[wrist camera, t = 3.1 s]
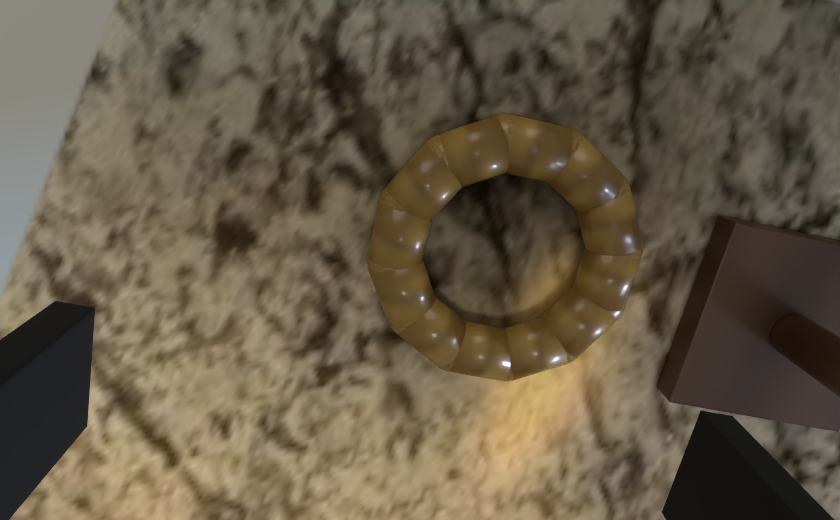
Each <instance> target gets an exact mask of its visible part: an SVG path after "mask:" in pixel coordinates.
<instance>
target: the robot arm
mask: <svg viewBox="0 0 840 520" xmlns="http://www.w3.org/2000/svg"><path fill="white" fill-rule="evenodd" d="M94 315H95V308H93V307H87V306H81V305H75V304H69V303H63V302H58V301H55V302H53V303H52V304H51V305H49V306H48V307H46V308H45V309H44V310H42V311H41V312H39V313H38V314H36V315H35V316H34V317H32V318H31V319H29V320H28V321H27V322H25V323H24V324H22V325H21V326H19V327H18V328H17V329H15V330H14V331H12V332H11V333H10V334H8V335H7V336H5V337H4V338H2V339H1V340H0V520H9V519H10V518H11V516H12V515H13V514H14V513H15V512H16V510H17V509H18V508H19V507H20V506H21V505H22V503H23V502H24V501H25V500H26V499H27V497H28V496H29V495H30V494H31V493H32V491H33V490H34V489H35V488H36V487H37V485H38V484H39V483H40V482H41V481H42V479H43V478H44V477H45V476H46V475H47V473H48V472H49V471H50V470H51V469H52V467H53V466H54V465H55V464H56V463H57V461H58V460H59V459H60V458H61V457H62V455H63V454H64V453H65V452H66V451H67V449H68V448H69V447H70V446H71V445H72V444H73V442H74V441H75V440H76V439H77V438H78V436H79V435H80V434H81V433H82V432H83V430H84V429H85V428H86V427H87V420H88V405H89V390H90V375H91V360H92V345H93V330H94ZM662 513H663V515H664V517H665V518H666V520H834V519H833V518H832V517H831V516H830V515H829V514H828V513H827V512H826V511H825V510H824V509H823V508H822V507H821V506H820V505H819V504H818V503H817V502H816V501H815V500H814V499H813V498H812V497H811V496H810V495H809V494H808V493H807V492H806V491H805V490H804V488H803V487H802V486H801V485H800V484H799V483H798V482H797V481H796V480H795V479H794V478H793V477H792V476H791V475H790V474H789V473H788V472H787V471H786V470H785V469H784V468H783V467H782V466H781V465H780V464H779V463H778V462H777V461H776V460H775V459H774V458H773V457H772V456H771V455H770V454H769V453H768V452H767V451H766V450H765V449H764V448H763V447H762V446H761V445H760V444H759V443H758V442H757V441H756V440H755V439H754V438H753V437H752V436H751V435H750V434H749V433H748V432H747V431H746V430H745V429H744V428H743V426H742V425H741V424H740V423H739V422H738V421H737V420H736V419H735V418H734V417H733V416H729V415H723V414H717V413H711V412H705V411H700V414H699V417H698V419H697V422H696V424H695V427H694V430H693V432H692V435H691V437H690V440H689V443H688V445H687V448H686V450H685V453H684V456H683V458H682V461H681V464H680V466H679V469H678V471H677V474H676V477H675V479H674V482H673V484H672V487H671V490H670V492H669V495H668V497H667V500H666V503H665V505H664V508H663V510H662Z"/></svg>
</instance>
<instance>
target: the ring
mask: <svg viewBox="0 0 840 520" xmlns="http://www.w3.org/2000/svg"><path fill="white" fill-rule="evenodd" d="M504 173H506V174H511V175H516V176H520V177H525V178H530V179H535V180H539V181H544V182H547V183H548V184H549V185H550V186H551V187H552V188H554V189H555V190H556V191H557V192H558V193H559V194H560V195H561V196H562V197H563V198H564V199H565V200H566V201H567V202H568V203H569V204H570V205H571V206H572V207H573V208H575V209H576V213H577V217H578V221H579V225H580V229H581V233H582V237H583V241H584V245H585V250H584V253H583V256H582V260H581V263H580V266H579V269H578V273H577V276H576V279H575V283H574V286H573V287H572V288H571V289H570V290H569V291H568V292H567V293H566V294H565V295H564V296H563V297H562V298H561V299H560V300H559V301H558V302H557V303H556V304H555V305H554V306H553V307H552V308H551V309H550V310H549V311H548V312H547V313H546V314H545V315H544V316H541V317H538V318H535V319H532V320H528V321H525V322H522V323H519V324H516V325H513V326H509V327H506V328H500V327H495V326H489V325H484V324H478V323H473V322H467V321H464V320H463V319H462V318H460V317H459V316H458V315H457V314H456V313H454V312H453V311H452V310H451V309H450V308H449V307H447V306H446V305H445V304H444V303H443V302H441V301H440V300H439V299H438V298H437V297H435V294H434V291H433V288H432V285H431V282H430V279H429V276H428V273H427V270H426V267H425V264H424V261H423V258H424V253H425V249H426V245H427V240H428V236H429V231H430V227H431V222H432V219H433V218H434V217H435V216H436V215H437V214H438V213H439V212H440V211H441V210H442V208H443V207H444V206H445V205H446V204H447V203H448V202H449V201H450V200H451V199H452V198H453V197H454V195H455V194H456V193H457V192H458V191H459V190H460V189H461V188H462V187H464V186H467V185H470V184H473V183H477V182H480V181H483V180H486V179H489V178H492V177H495V176H498V175H501V174H504ZM642 252H643V244H642V239H641V234H640V230H639V225H638V221H637V216H636V212H635V207H634V203H633V198H632V193H631V189H630V185H629V183H628V181H627V179H626V178H625V177H624V175H623V174H622V173H621V172H620V171H619V170H618V169H617V168H616V167H615V166H614V165H613V164H612V163H611V162H610V161H609V160H608V159H607V158H606V157H605V156H604V155H603V154H602V153H601V152H600V151H599V150H598V149H597V148H596V147H595V146H594V145H593V144H592V143H591V142H590V141H589V140H588V139H587V138H586V137H585V136H584V135H582V134H581V133H580V132H579V131H577V130H575V129H573V128H570V127H565V126H561V125H556V124H552V123H547V122H543V121H538V120H534V119H529V118H525V117H520V116H516V115H511V114H499V115H495V116H492V117H489V118H486V119H483V120H480V121H477V122H474V123H471V124H468V125H465V126H462V127H459V128H456V129H453V130H450V131H447V132H444V133H440V134H438V135H435V136H433V137H432V138H430V139H429V140H427V142H425V143H424V145H423V146H422V147H421V148H420V149H419V150H418V151H417V152H416V154H415V155H414V156H413V157H412V158H411V159H410V160H409V161H408V162H407V164H406V165H405V166H404V167H403V168H402V169H401V170H400V171H399V173H398V174H397V175H396V176H395V177H394V178H393V179H392V180H391V182H390V183H389V184H388V185H387V186H386V187H385V189H384V190H383V191H382V193H381V195H380V198H379V202H378V207H377V212H376V217H375V222H374V227H373V232H372V237H371V242H370V247H369V252H368V258H367V265H368V269H369V273H370V275H371V278H372V281H373V283H374V286H375V289H376V292H377V294H378V297H379V300H380V302H381V305H382V308H383V311H384V313H385V316H386V319H387V321H388V324H389V326H390V327H391V329H392V330H393V331H394V332H395V333H397V334H398V335H399V336H400V337H401V338H403V339H404V340H405V341H406V342H408V343H409V344H410V345H411V346H413V347H414V348H415V349H416V350H418V351H419V352H420V353H421V354H423V355H424V356H425V357H426V358H428V359H429V360H430V361H431V362H432V363H434V364H435V365H436V366H437V367H439V368H441V369H442V370H445V371H449V372H454V373H460V374H466V375H471V376H477V377H483V378H489V379H494V380H500V381H513V380H516V379H519V378H523V377H526V376H529V375H532V374H536V373H539V372H542V371H545V370H549V369H552V368H555V367H558V366H562V365H565V364H568V363H570V362H572V361H574V360H575V359H576V358H578V357H579V356H580V355H581V354H582V353H583V352H584V351H585V350H586V349H587V348H588V347H589V346H590V345H591V344H592V343H593V342H594V341H595V340H596V339H597V338H598V337H600V336H601V335H602V334H603V333H604V332H605V331H606V330H607V329H608V328H609V327H610V326H611V325H612V324H613V323H614V322H615V321H616V320H617V319H618V318H619V317H620V316H621V314H622V312H623V310H624V308H625V305H626V302H627V299H628V295H629V292H630V289H631V286H632V283H633V280H634V277H635V274H636V271H637V268H638V265H639V262H640V259H641V256H642Z"/></svg>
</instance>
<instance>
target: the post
mask: <svg viewBox="0 0 840 520" xmlns="http://www.w3.org/2000/svg"><path fill="white" fill-rule="evenodd" d="M657 387H658V389H659V390H660V391H661V392H662V393H663V395H664V396H665V397H666V398H667V399H668V401H669V402H673V403H678V404H684V405H690V406H696V407H701V408H707V409H713V410H718V411H724V412H730V413H735V414H741V415H747V416H752V417H758V418H764V419H769V420H775V421H781V422H786V423H792V424H798V425H803V426H809V427H815V428H821V429H826V430H832V431H838V432H839V431H840V241H839V240H835V239H830V238H825V237H820V236H816V235H811V234H806V233H801V232H797V231H792V230H787V229H783V228H778V227H773V226H768V225H764V224H759V223H754V222H749V221H745V220H740V219H735V218H730V217H726V216H719V217H718V219H717V222H716V225H715V228H714V231H713V233H712V236H711V239H710V242H709V244H708V247H707V250H706V253H705V256H704V258H703V261H702V264H701V267H700V269H699V272H698V275H697V278H696V280H695V283H694V286H693V289H692V292H691V294H690V297H689V300H688V303H687V305H686V308H685V311H684V314H683V317H682V319H681V322H680V325H679V328H678V330H677V333H676V336H675V339H674V342H673V344H672V347H671V350H670V353H669V355H668V358H667V361H666V364H665V366H664V369H663V372H662V375H661V378H660V380H659V383H658V386H657Z"/></svg>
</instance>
